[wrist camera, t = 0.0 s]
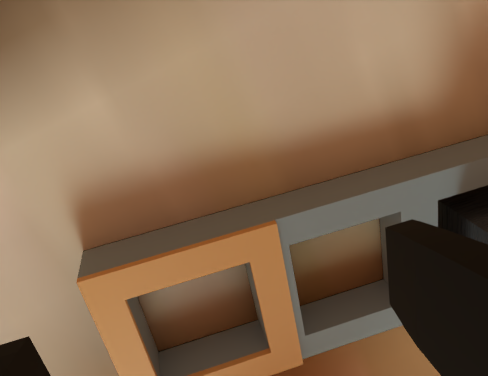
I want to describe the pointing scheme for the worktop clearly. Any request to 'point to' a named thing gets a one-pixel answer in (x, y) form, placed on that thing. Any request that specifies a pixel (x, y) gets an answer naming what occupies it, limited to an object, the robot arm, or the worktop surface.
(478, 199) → the block
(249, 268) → the grey rectangular frame
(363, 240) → the worktop surface
